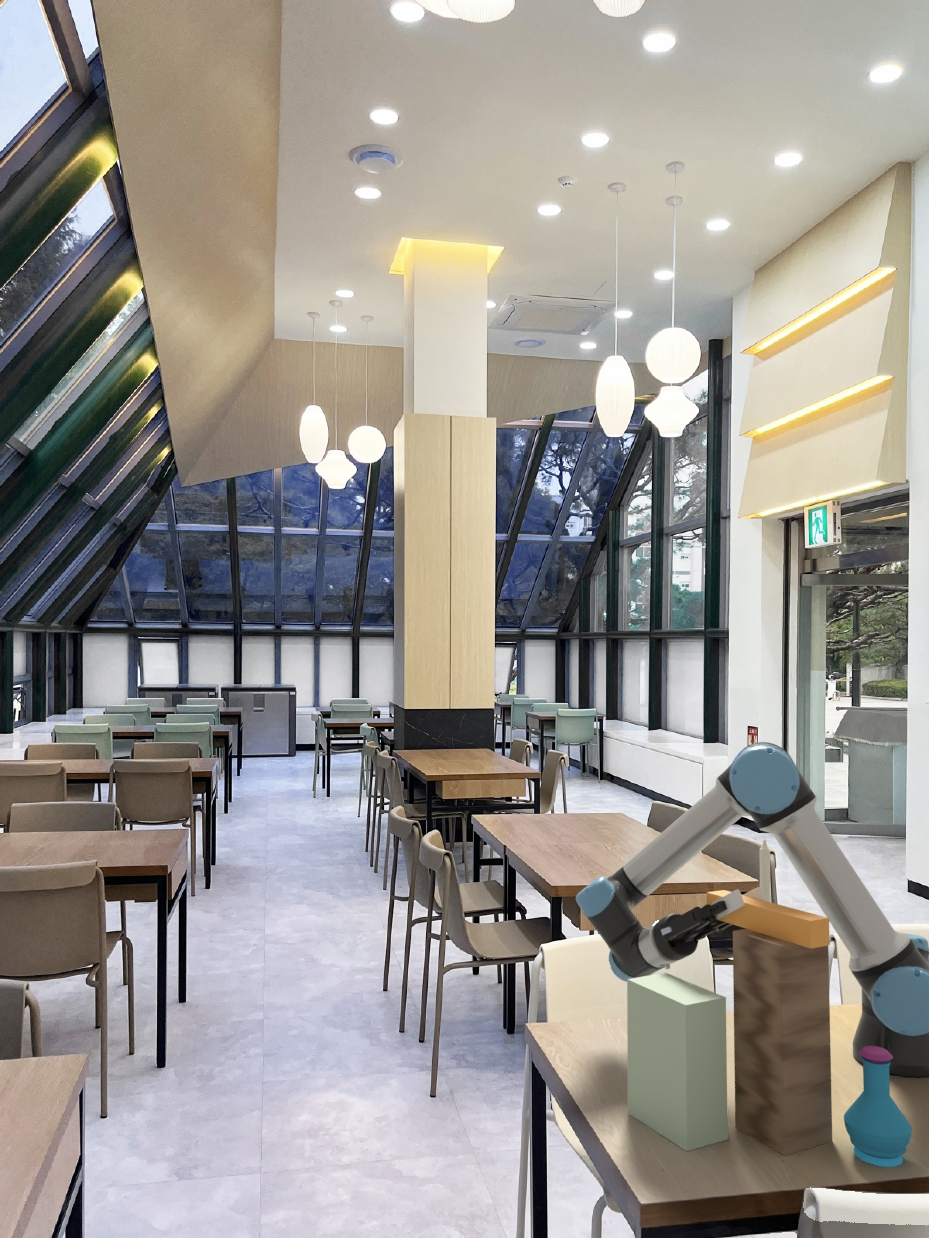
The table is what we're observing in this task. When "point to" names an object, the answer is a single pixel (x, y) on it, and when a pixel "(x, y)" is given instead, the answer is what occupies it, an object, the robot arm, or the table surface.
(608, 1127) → the table surface
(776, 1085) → the post
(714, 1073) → the pale green rectangular block
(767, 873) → the candle
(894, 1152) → the perfume bottle
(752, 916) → the bar
